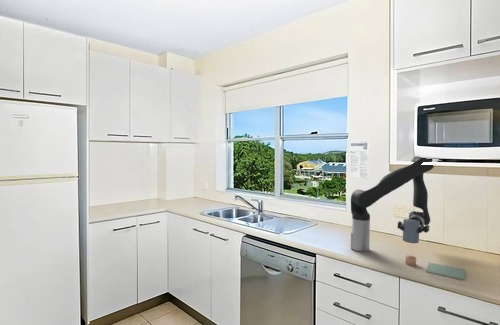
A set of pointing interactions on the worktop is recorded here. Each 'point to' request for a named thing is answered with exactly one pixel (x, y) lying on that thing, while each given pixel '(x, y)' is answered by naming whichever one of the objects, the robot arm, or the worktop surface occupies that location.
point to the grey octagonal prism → (410, 231)
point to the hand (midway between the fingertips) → (410, 229)
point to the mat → (446, 271)
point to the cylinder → (410, 260)
